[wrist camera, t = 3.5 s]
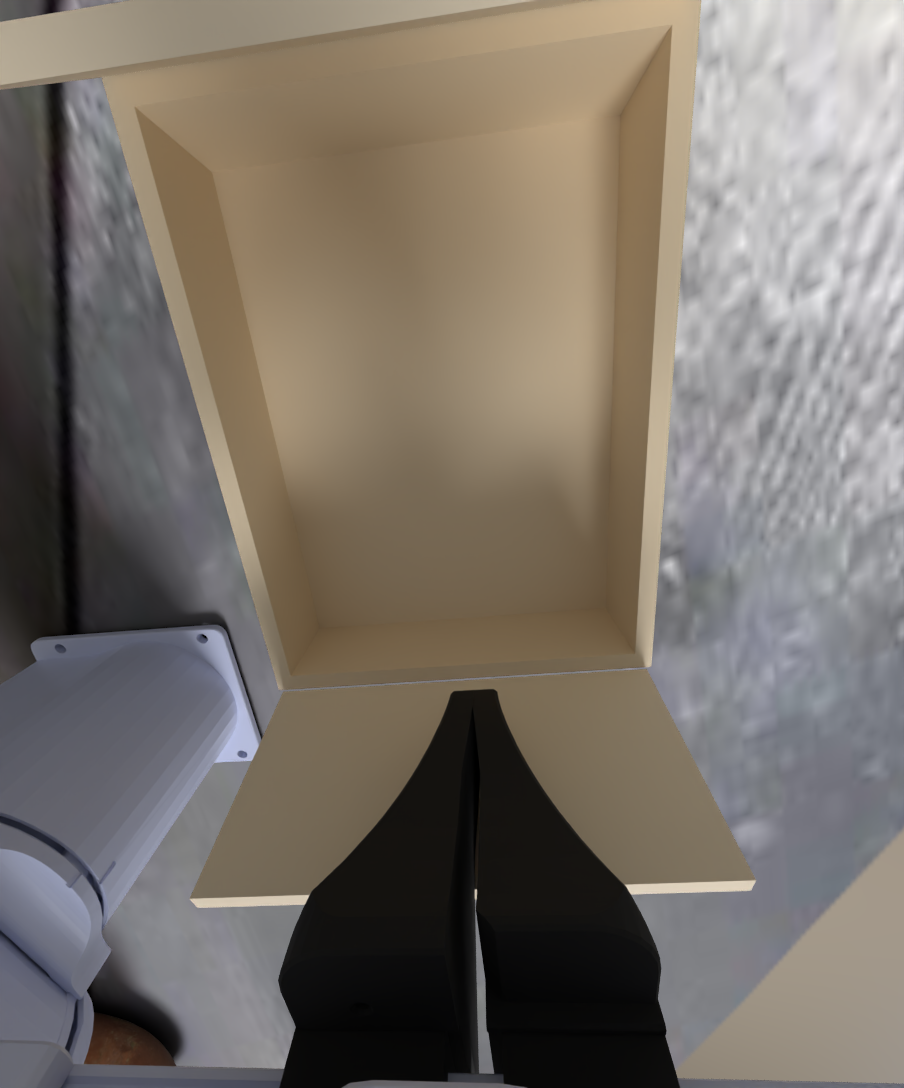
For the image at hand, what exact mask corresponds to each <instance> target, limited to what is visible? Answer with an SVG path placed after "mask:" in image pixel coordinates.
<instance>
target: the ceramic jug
mask: <svg viewBox="0 0 904 1088" xmlns="http://www.w3.org/2000/svg"><path fill="white" fill-rule="evenodd" d="M84 1064H100V1065H142V1066H176V1064H175V1062H174V1060H173V1058H172V1057H171V1055H170V1053H169V1052H168V1051H167V1049H166V1048H165V1047H164V1046H163V1045H162V1043H161V1042H160V1041H159V1040H157V1039H156V1038H155V1037H154V1036H153V1035H152V1034H150V1033H149V1032H148V1031H146V1030H145V1029H143V1028H141V1027H139V1026H137V1025H135V1024H133V1023H131V1022H129V1021H126V1020H123V1019H120V1018H117V1017H113V1016H109V1015H105V1014H101V1013H95V1012H94V1022H93V1032H92V1036H91V1041H90V1045H89V1049H88V1053H87V1056H86V1059H85V1061H84Z"/></svg>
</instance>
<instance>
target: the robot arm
mask: <svg viewBox="0 0 904 1088" xmlns="http://www.w3.org/2000/svg"><path fill="white" fill-rule="evenodd" d="M202 634H204V635H205V636H206V637H207V638H208V639H206V638H204V637H203V636H202ZM31 650H32V652H33V654H34V656H35V658H36V660H37V662H35V663H33V664H32V665H30V666H29V667H27V668H26V669H24V670H23V671H21V672H19V673H18V674H16V675H15V676H13V677H12V678H10V679H8V680H7V681H5V682H4V683H2V684H1V685H0V1088H904V1084H894V1083H891V1084H890V1083H851V1082H849V1083H848V1082H810V1081H769V1080H726V1079H685V1078H677V1075H676V1071H675V1068H674V1065H673V1061H672V1058H671V1054H670V1051H669V1047H668V1044H667V1041H666V1037H665V1035H666V1026H665V1022H664V1018H663V1015H662V1012H661V1008H660V1005H659V1002H658V992H659V984H660V975H661V964H660V957H659V954H658V951H657V948H656V945H655V943H654V940H653V938H652V936H651V933H650V931H649V929H648V927H647V924H646V922H645V920H644V918H643V916H642V914H641V912H640V911H639V909H638V907H637V905H636V903H635V901H634V899H633V898H632V896H631V894H630V892H629V891H628V889H627V887H626V886H625V885H624V884H623V883H622V882H621V881H620V880H619V879H618V878H617V877H616V876H615V875H614V874H613V873H612V872H611V871H610V870H609V869H608V868H607V867H606V865H605V864H604V863H603V862H602V861H601V860H600V859H599V858H598V857H597V856H596V855H595V854H594V853H593V851H592V850H591V849H590V848H589V847H588V846H587V845H586V844H585V842H584V841H583V840H582V839H581V838H580V837H579V835H578V834H577V833H576V832H575V830H574V829H573V828H572V827H571V825H570V824H569V823H568V822H567V820H566V819H565V818H564V817H563V815H562V814H561V813H560V812H559V810H558V809H557V808H556V806H555V805H554V804H553V802H552V801H551V799H550V798H549V797H548V795H547V794H546V792H545V791H544V789H543V788H542V786H541V785H540V783H539V782H538V780H537V779H536V777H535V775H534V774H533V772H532V771H531V769H530V767H529V766H528V764H527V762H526V760H525V758H524V757H523V755H522V753H521V751H520V749H519V747H518V746H517V743H516V741H515V739H514V737H513V735H512V733H511V731H510V729H509V727H508V724H507V722H506V719H505V717H504V714H503V712H502V709H501V706H500V702H499V698H498V692H497V691H496V690H495V689H482V690H462V691H453V692H452V693H451V695H450V698H449V701H448V704H447V707H446V710H445V712H444V715H443V717H442V719H441V722H440V724H439V726H438V728H437V730H436V732H435V734H434V736H433V738H432V741H431V743H430V745H429V746H428V748H427V750H426V752H425V754H424V755H423V757H422V759H421V761H420V762H419V764H418V766H417V768H416V769H415V771H414V773H413V774H412V776H411V777H410V779H409V781H408V782H407V784H406V785H405V787H404V788H403V789H402V791H401V792H400V794H399V795H398V797H397V798H396V799H395V801H394V802H393V803H392V805H391V806H390V807H389V809H388V810H387V811H386V813H385V814H384V815H383V817H382V818H381V819H380V820H379V822H378V823H377V824H376V825H375V826H374V828H373V829H372V830H371V831H370V832H369V833H368V834H367V835H366V837H365V838H364V839H363V840H362V841H361V842H360V843H359V844H358V846H357V847H356V848H355V849H354V850H353V851H352V852H351V853H350V854H349V855H348V856H347V857H346V859H345V860H344V861H343V862H342V863H341V864H339V865H338V866H337V867H336V868H335V869H334V870H333V871H332V872H331V873H330V874H329V875H328V876H327V877H326V878H325V879H324V880H323V881H322V882H321V883H320V884H319V885H318V886H317V887H315V888H314V889H313V890H312V891H311V893H310V895H309V897H308V899H307V902H306V904H305V906H304V908H303V910H302V912H301V915H300V917H299V919H298V922H297V924H296V926H295V929H294V931H293V934H292V937H291V940H290V943H289V946H288V949H287V952H286V955H285V959H284V962H283V965H282V968H281V971H280V975H279V979H278V982H279V986H280V991H281V993H282V996H283V998H284V1000H285V1003H286V1005H287V1007H288V1010H289V1012H290V1014H291V1016H292V1019H293V1021H294V1023H295V1026H296V1029H295V1032H294V1036H293V1040H292V1043H291V1047H290V1050H289V1054H288V1058H287V1061H286V1065H285V1068H284V1069H267V1068H225V1067H183V1066H142V1065H100V1064H84V1061H85V1059H86V1056H87V1053H88V1049H89V1045H90V1041H91V1036H92V1032H93V1022H94V1011H93V1004H92V1000H91V998H90V996H89V994H88V992H87V989H88V988H89V986H90V985H91V983H92V981H93V980H94V978H95V977H96V975H97V973H98V972H99V970H100V969H101V967H102V965H103V964H104V962H105V961H106V959H107V957H108V956H109V954H110V953H111V948H110V947H109V946H108V944H107V943H106V942H105V940H104V938H103V936H102V933H101V931H102V930H103V928H104V927H105V925H106V924H107V922H108V921H109V919H110V918H111V916H112V915H113V913H114V912H115V910H116V909H117V907H118V906H119V904H120V903H121V901H122V900H123V898H124V897H125V895H126V894H127V892H128V891H129V889H130V888H131V886H132V885H133V883H134V882H135V880H136V879H137V877H138V876H139V874H140V873H141V871H142V870H143V868H144V867H145V865H146V864H147V862H148V861H149V859H150V858H151V856H152V855H153V853H154V852H155V850H156V849H157V847H158V846H159V844H160V843H161V841H162V840H163V838H164V837H165V835H166V834H167V832H168V831H169V829H170V828H171V826H172V825H173V823H174V822H175V821H176V819H177V818H178V816H179V815H180V813H181V812H182V810H183V809H184V807H185V806H186V804H187V803H188V801H189V800H190V798H191V797H192V795H193V794H194V792H195V791H196V789H197V788H198V786H199V785H200V783H201V782H202V780H203V779H204V777H205V776H206V774H207V773H208V771H209V770H210V768H211V767H212V765H213V764H214V763H215V762H234V761H252V760H253V758H254V755H255V753H256V751H257V749H258V747H259V744H260V742H261V737H260V734H259V731H258V728H257V725H256V722H255V719H254V716H253V712H252V709H251V706H250V703H249V700H248V697H247V694H246V691H245V688H244V685H243V682H242V678H241V675H240V672H239V669H238V666H237V663H236V660H235V657H234V654H233V651H232V648H231V644H230V641H229V638H228V635H227V633H226V631H225V629H224V628H222V627H221V626H219V625H202V626H189V627H175V628H161V629H148V630H134V631H120V632H107V633H93V634H79V635H66V636H52V637H42V638H39V639H37V640H35V641H34V642H33V643H32V644H31ZM244 751H245V752H244ZM479 787H480V813H479V853H478V879H477V901H476V913H477V921H478V928H479V935H480V943H481V950H482V957H483V965H484V972H485V979H486V1025H487V1032H488V1033H489V1040H490V1047H491V1054H492V1061H493V1068H494V1074H479V1060H478V1023H477V982H476V934H475V848H476V833H477V818H478V803H479Z"/></svg>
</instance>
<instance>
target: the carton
mask: <svg viewBox="0 0 904 1088" xmlns="http://www.w3.org/2000/svg"><path fill="white" fill-rule="evenodd" d="M700 10H701V0H593V1H586V2H580V3H574V4H567V5H561V6H554V7H548V8H542V9H535V10H529V11H523V12H516V13H510V14H504V15H497V16H491V17H484V18H478V19H472V20H465V21H459V22H453V23H446V24H440V25H434V26H427V27H421V28H414V29H408V30H402V31H395V32H389V33H383V34H376V35H370V36H364V37H357V38H351V39H344V40H338V41H332V42H325V43H319V44H313V45H306V46H300V47H293V48H287V49H281V50H274V51H268V52H262V53H255V54H249V55H243V56H236V57H230V58H223V59H217V60H211V61H204V62H198V63H192V64H185V65H179V66H173V67H166V68H160V69H153V70H147V71H141V72H134V73H128V74H122V75H115V76H109V77H103V78H102V81H103V84H104V88H105V91H106V95H107V98H108V101H109V105H110V108H111V112H112V115H113V119H114V122H115V126H116V129H117V132H118V136H119V139H120V143H121V146H122V150H123V153H124V157H125V160H126V164H127V167H128V170H129V174H130V177H131V181H132V184H133V188H134V191H135V195H136V198H137V201H138V205H139V208H140V212H141V215H142V219H143V222H144V226H145V229H146V232H147V236H148V239H149V243H150V246H151V250H152V253H153V257H154V260H155V264H156V267H157V270H158V274H159V277H160V281H161V284H162V288H163V291H164V295H165V298H166V301H167V305H168V308H169V312H170V315H171V319H172V322H173V326H174V329H175V332H176V336H177V339H178V343H179V346H180V350H181V353H182V357H183V360H184V364H185V367H186V370H187V374H188V377H189V381H190V384H191V388H192V391H193V395H194V398H195V401H196V405H197V408H198V412H199V415H200V419H201V422H202V426H203V429H204V432H205V436H206V439H207V443H208V446H209V450H210V453H211V457H212V460H213V464H214V467H215V470H216V474H217V477H218V481H219V484H220V488H221V491H222V495H223V498H224V501H225V505H226V508H227V512H228V515H229V519H230V522H231V526H232V529H233V532H234V536H235V539H236V543H237V546H238V550H239V553H240V557H241V560H242V564H243V567H244V570H245V574H246V577H247V581H248V584H249V588H250V591H251V595H252V598H253V601H254V605H255V608H256V612H257V615H258V619H259V622H260V626H261V629H262V632H263V636H264V639H265V643H266V646H267V650H268V653H269V657H270V660H271V664H272V667H273V670H274V674H275V677H276V681H277V684H278V688H279V690H288V689H304V688H320V687H336V686H352V685H368V684H384V683H400V682H416V681H432V680H448V679H464V678H479V677H495V676H511V675H527V674H543V673H559V672H575V671H591V670H607V669H623V668H639V667H651V662H652V649H653V635H654V622H655V609H656V595H657V582H658V569H659V555H660V542H661V529H662V515H663V502H664V489H665V476H666V462H667V449H668V436H669V422H670V409H671V396H672V382H673V369H674V356H675V342H676V329H677V316H678V303H679V289H680V276H681V263H682V249H683V236H684V223H685V209H686V196H687V183H688V169H689V156H690V143H691V129H692V116H693V103H694V90H695V76H696V63H697V50H698V36H699V23H700Z"/></svg>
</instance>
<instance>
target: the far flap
mask: <svg viewBox="0 0 904 1088" xmlns="http://www.w3.org/2000/svg"><path fill="white" fill-rule="evenodd" d="M482 689H495V690H496V691H497V692H498V698H499V702H500V706H501V709H502V712H503V714H504V717H505V719H506V722H507V724H508V727H509V729H510V731H511V733H512V735H513V737H514V739H515V741H516V743H517V746H518V747H519V749H520V751H521V753H522V755H523V757H524V758H525V760H526V762H527V764H528V766H529V767H530V769H531V771H532V772H533V774H534V775H535V777H536V779H537V780H538V782H539V783H540V785H541V786H542V788H543V789H544V791H545V792H546V794H547V795H548V797H549V798H550V799H551V801H552V802H553V804H554V805H555V806H556V808H557V809H558V810H559V812H560V813H561V814H562V815H563V817H564V818H565V819H566V820H567V822H568V823H569V824H570V825H571V827H572V828H573V829H574V830H575V832H576V833H577V834H578V835H579V837H580V838H581V839H582V840H583V841H584V842H585V844H586V845H587V846H588V847H589V848H590V849H591V850H592V851H593V853H594V854H595V855H596V856H597V857H598V858H599V859H600V860H601V861H602V862H603V863H604V864H605V865H606V867H607V868H608V869H609V870H610V871H611V872H612V873H613V874H614V875H615V876H616V877H617V878H618V879H619V880H620V881H621V882H622V883H623V884H624V885H625V886H626V887H627V889H628V891H629V892H630V894H659V893H691V892H723V891H751V889H752V887H753V885H754V883H755V882H756V879H755V877H754V875H753V873H752V872H751V870H750V868H749V866H748V864H747V862H746V860H745V858H744V856H743V854H742V852H741V850H740V848H739V846H738V845H737V843H736V841H735V839H734V837H733V835H732V833H731V831H730V829H729V827H728V825H727V823H726V821H725V819H724V818H723V816H722V814H721V812H720V810H719V808H718V806H717V804H716V802H715V800H714V798H713V796H712V794H711V792H710V790H709V789H708V787H707V785H706V783H705V781H704V779H703V777H702V775H701V773H700V771H699V769H698V767H697V765H696V763H695V762H694V760H693V758H692V756H691V754H690V752H689V750H688V748H687V746H686V744H685V742H684V740H683V738H682V736H681V735H680V733H679V731H678V729H677V727H676V725H675V723H674V721H673V719H672V717H671V715H670V713H669V711H668V709H667V708H666V706H665V704H664V702H663V700H662V698H661V696H660V694H659V692H658V690H657V688H656V686H655V684H654V682H653V680H652V679H651V677H650V675H649V673H648V671H647V669H640V670H624V671H608V672H592V673H576V674H560V675H544V676H528V677H512V678H496V679H480V680H464V681H448V682H432V683H416V684H400V685H384V686H369V687H353V688H337V689H321V690H305V691H289V692H283V694H282V696H281V698H280V700H279V702H278V705H277V707H276V709H275V711H274V714H273V716H272V718H271V720H270V722H269V725H268V727H267V729H266V731H265V733H264V736H263V738H262V740H261V742H260V744H259V747H258V749H257V751H256V753H255V755H254V758H253V760H252V762H251V764H250V767H249V769H248V771H247V773H246V775H245V778H244V780H243V782H242V784H241V786H240V789H239V791H238V793H237V795H236V797H235V800H234V802H233V804H232V806H231V808H230V811H229V813H228V815H227V817H226V820H225V822H224V824H223V826H222V828H221V831H220V833H219V835H218V837H217V839H216V842H215V844H214V846H213V848H212V850H211V853H210V855H209V857H208V859H207V861H206V864H205V866H204V868H203V870H202V873H201V875H200V877H199V879H198V881H197V884H196V886H195V888H194V890H193V892H192V895H191V897H190V900H191V901H192V902H193V903H194V904H195V906H196V907H197V908H209V907H241V906H273V905H305V904H306V902H307V899H308V897H309V895H310V893H311V891H312V890H313V889H314V888H315V887H317V886H318V885H319V884H320V883H321V882H322V881H323V880H324V879H325V878H326V877H327V876H328V875H329V874H330V873H331V872H332V871H333V870H334V869H335V868H336V867H337V866H338V865H339V864H341V863H342V862H343V861H344V860H345V859H346V857H347V856H348V855H349V854H350V853H351V852H352V851H353V850H354V849H355V848H356V847H357V846H358V844H359V843H360V842H361V841H362V840H363V839H364V838H365V837H366V835H367V834H368V833H369V832H370V831H371V830H372V829H373V828H374V826H375V825H376V824H377V823H378V822H379V820H380V819H381V818H382V817H383V815H384V814H385V813H386V811H387V810H388V809H389V807H390V806H391V805H392V803H393V802H394V801H395V799H396V798H397V797H398V795H399V794H400V792H401V791H402V789H403V788H404V787H405V785H406V784H407V782H408V781H409V779H410V777H411V776H412V774H413V773H414V771H415V769H416V768H417V766H418V764H419V762H420V761H421V759H422V757H423V755H424V754H425V752H426V750H427V748H428V746H429V745H430V743H431V741H432V738H433V736H434V734H435V732H436V730H437V728H438V726H439V724H440V722H441V719H442V717H443V715H444V712H445V710H446V707H447V704H448V701H449V698H450V695H451V693H452V692H453V691H462V690H482ZM479 813H480V787H479V803H478V818H477V833H476V848H475V899H477V879H478V853H479Z"/></svg>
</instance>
